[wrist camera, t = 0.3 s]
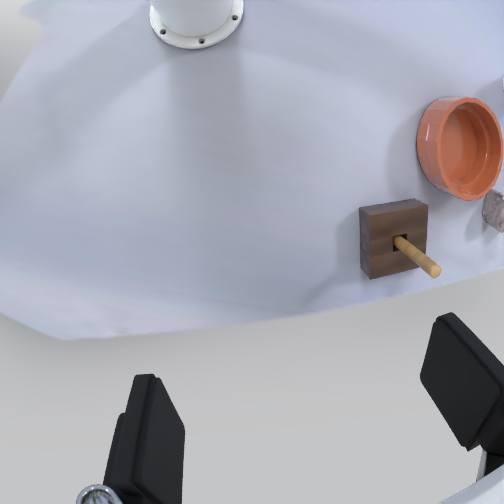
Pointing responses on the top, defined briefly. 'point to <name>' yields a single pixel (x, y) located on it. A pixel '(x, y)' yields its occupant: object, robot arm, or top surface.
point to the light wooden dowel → (417, 256)
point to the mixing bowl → (460, 146)
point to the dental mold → (494, 210)
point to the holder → (391, 236)
